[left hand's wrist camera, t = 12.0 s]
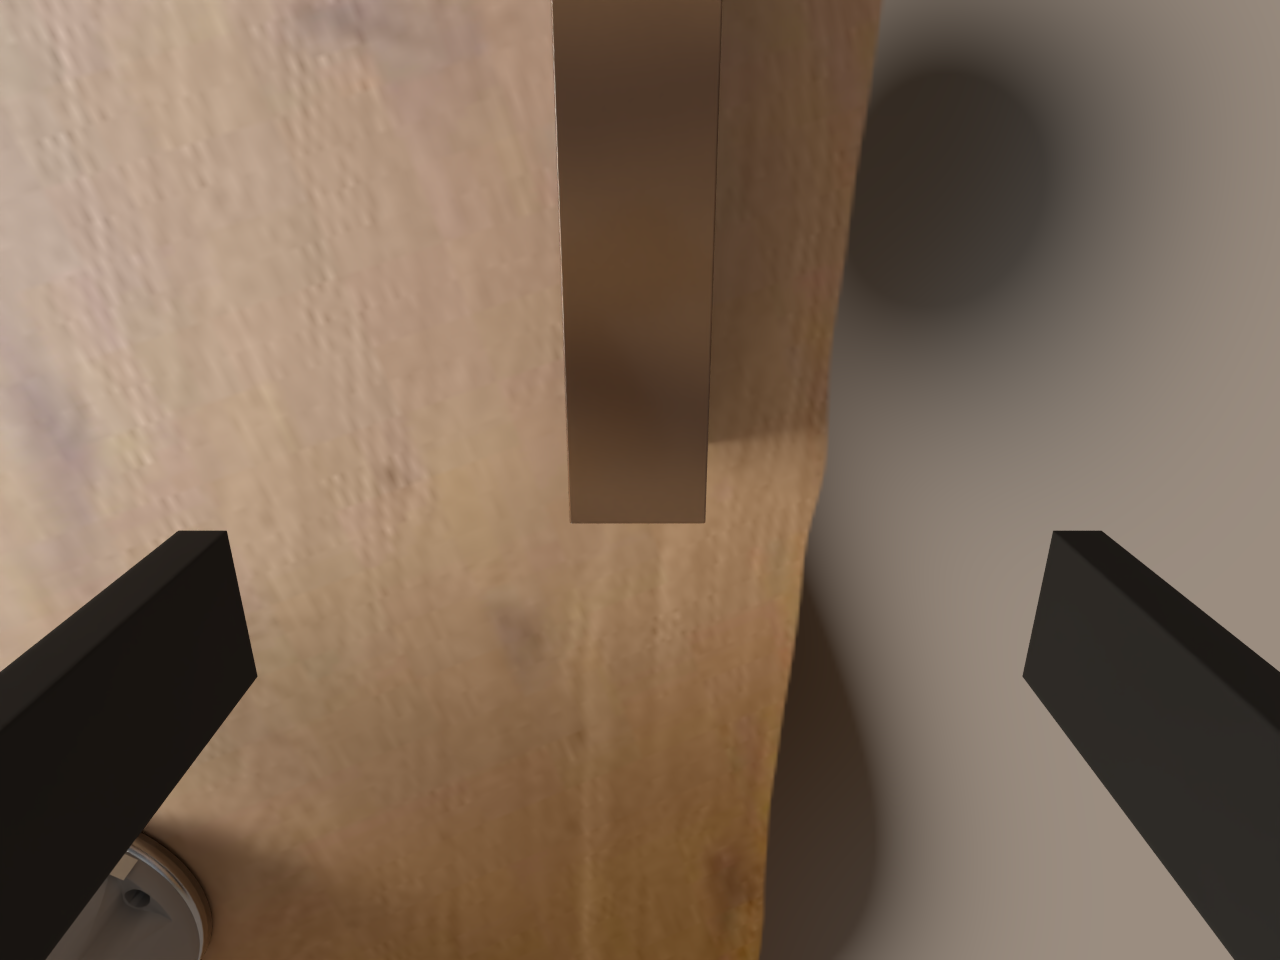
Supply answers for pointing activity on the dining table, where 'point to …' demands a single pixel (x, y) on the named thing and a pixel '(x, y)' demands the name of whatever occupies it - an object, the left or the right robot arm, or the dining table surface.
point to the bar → (637, 251)
